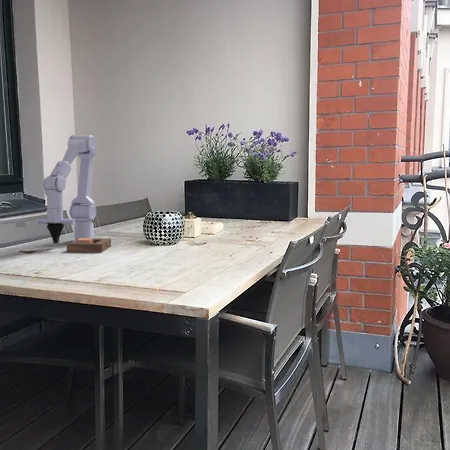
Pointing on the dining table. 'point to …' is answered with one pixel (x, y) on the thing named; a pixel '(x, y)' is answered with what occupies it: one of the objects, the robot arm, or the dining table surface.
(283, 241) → the dining table surface
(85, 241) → the key block
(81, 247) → the tray
